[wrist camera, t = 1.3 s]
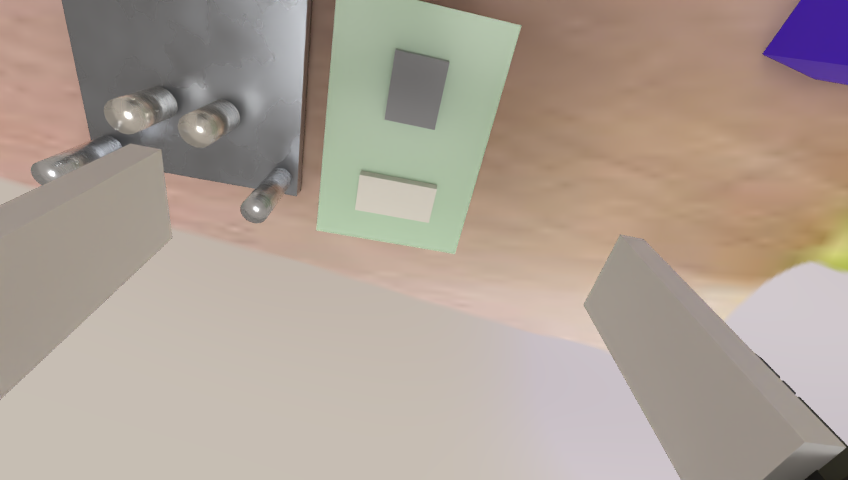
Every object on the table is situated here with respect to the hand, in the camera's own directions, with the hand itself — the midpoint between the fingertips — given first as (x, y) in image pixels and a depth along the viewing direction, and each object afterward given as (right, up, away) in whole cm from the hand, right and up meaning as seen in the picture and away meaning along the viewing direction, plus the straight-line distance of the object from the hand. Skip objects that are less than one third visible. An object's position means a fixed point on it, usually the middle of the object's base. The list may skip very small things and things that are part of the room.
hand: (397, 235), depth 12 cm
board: (0, +6, +11) cm, 12 cm away
